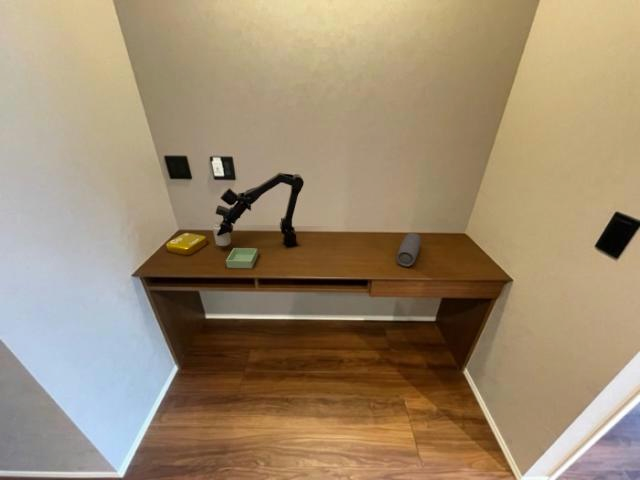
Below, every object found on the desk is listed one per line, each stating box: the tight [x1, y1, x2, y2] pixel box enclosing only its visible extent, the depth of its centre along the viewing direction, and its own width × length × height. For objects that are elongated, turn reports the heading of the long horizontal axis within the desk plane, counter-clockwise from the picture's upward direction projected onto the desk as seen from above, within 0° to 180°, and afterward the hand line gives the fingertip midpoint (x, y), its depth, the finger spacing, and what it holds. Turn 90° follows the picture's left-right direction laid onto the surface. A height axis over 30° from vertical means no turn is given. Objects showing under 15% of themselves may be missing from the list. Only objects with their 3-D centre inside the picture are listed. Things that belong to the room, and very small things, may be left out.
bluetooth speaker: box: [396, 232, 422, 267], centre depth 135 cm, size 23×9×10 cm, turn 154°
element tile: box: [165, 232, 208, 256], centre depth 143 cm, size 15×15×5 cm
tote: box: [225, 247, 259, 269], centre depth 131 cm, size 12×12×4 cm
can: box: [212, 220, 232, 247], centre depth 137 cm, size 8×8×12 cm
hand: (218, 231), depth 137 cm, fingers closed on can, 7 cm apart
